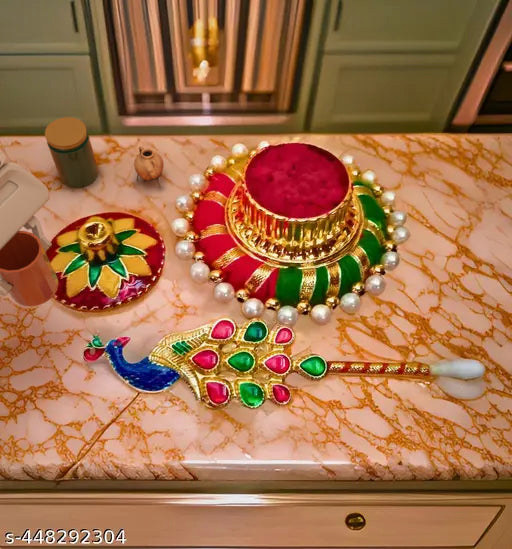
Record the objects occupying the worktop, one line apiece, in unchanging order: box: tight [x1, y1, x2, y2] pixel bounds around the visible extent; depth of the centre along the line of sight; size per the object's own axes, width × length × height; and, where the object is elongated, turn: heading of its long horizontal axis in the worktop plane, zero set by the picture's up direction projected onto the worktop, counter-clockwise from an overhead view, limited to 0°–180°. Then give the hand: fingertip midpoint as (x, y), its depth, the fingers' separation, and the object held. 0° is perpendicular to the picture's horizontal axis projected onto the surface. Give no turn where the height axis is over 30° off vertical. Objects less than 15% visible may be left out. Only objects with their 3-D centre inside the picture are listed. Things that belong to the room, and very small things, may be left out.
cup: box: [0, 230, 59, 307], centre depth 80 cm, size 7×7×9 cm
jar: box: [44, 116, 100, 189], centre depth 116 cm, size 8×8×12 cm
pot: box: [133, 146, 165, 188], centre depth 118 cm, size 6×8×6 cm
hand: (28, 269), depth 80 cm, fingers closed on cup, 7 cm apart
